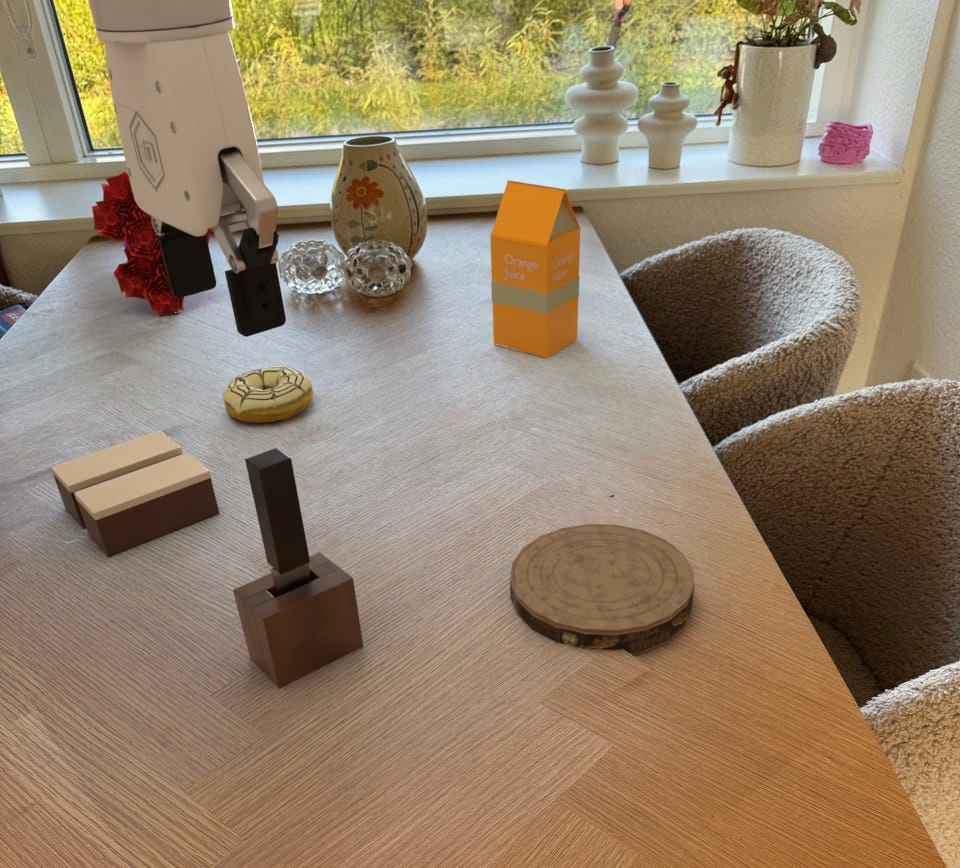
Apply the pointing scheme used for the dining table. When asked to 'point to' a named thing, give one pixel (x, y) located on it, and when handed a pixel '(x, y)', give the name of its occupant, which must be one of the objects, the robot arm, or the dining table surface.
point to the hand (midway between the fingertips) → (227, 310)
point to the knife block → (300, 622)
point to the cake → (110, 466)
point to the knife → (279, 519)
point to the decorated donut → (268, 394)
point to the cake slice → (147, 503)
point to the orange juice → (535, 269)
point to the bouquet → (135, 246)
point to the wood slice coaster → (603, 588)
